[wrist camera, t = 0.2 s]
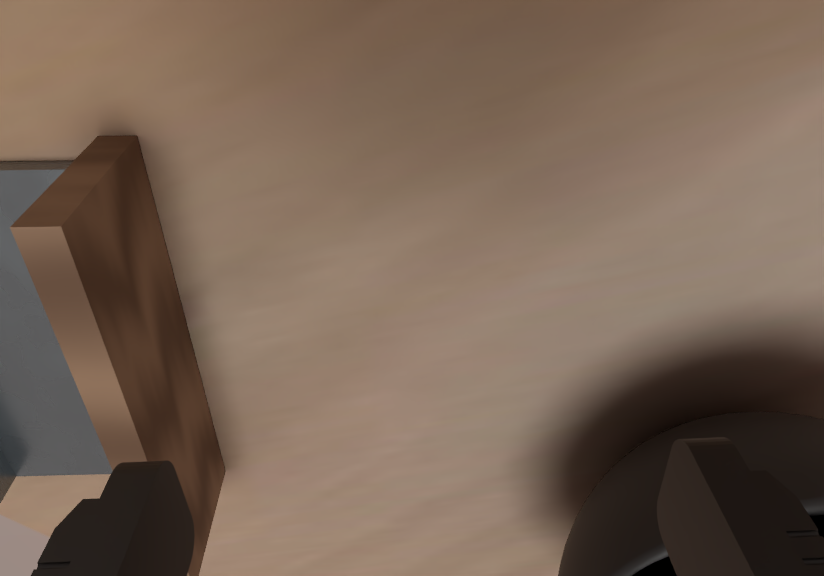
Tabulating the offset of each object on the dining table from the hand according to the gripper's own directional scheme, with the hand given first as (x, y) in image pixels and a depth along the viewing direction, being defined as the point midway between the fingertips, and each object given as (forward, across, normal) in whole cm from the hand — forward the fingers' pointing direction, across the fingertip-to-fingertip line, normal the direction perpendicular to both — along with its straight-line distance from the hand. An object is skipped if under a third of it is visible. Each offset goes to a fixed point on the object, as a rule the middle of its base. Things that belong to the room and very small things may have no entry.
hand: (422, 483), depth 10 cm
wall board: (+18, +12, +10) cm, 23 cm away
